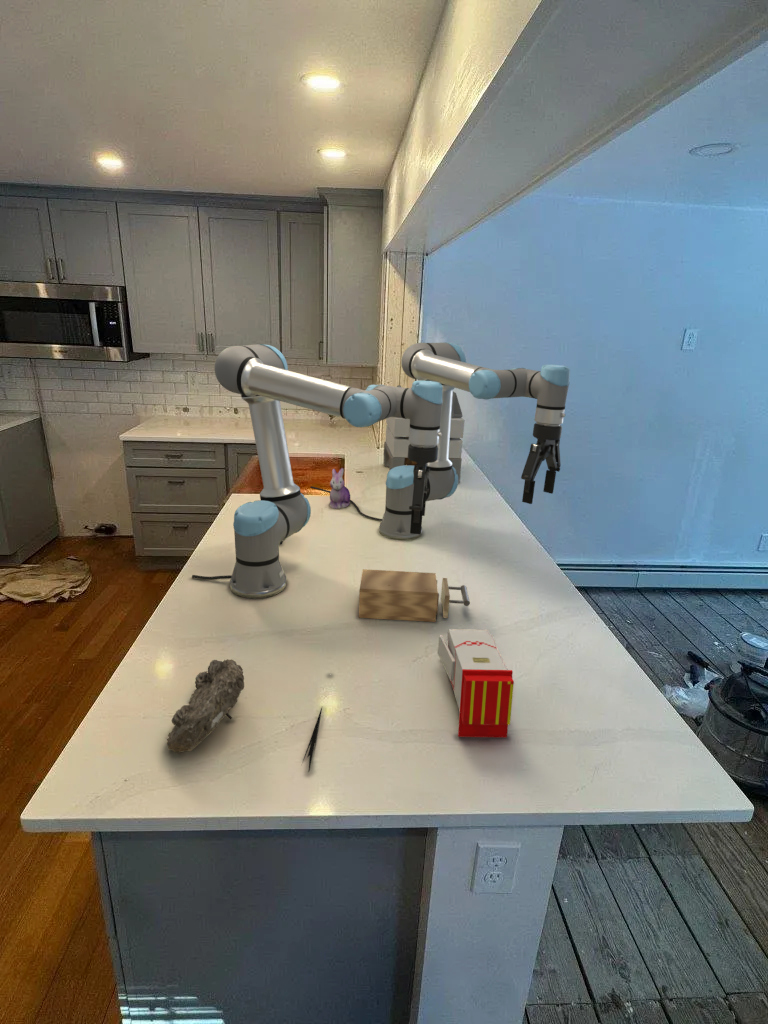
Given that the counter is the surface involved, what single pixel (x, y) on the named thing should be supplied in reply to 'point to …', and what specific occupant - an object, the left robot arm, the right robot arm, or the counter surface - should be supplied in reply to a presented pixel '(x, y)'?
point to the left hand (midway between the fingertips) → (417, 524)
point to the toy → (478, 682)
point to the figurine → (338, 491)
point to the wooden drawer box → (398, 595)
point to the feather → (313, 740)
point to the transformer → (399, 443)
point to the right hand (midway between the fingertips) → (537, 497)
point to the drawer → (446, 597)
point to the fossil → (206, 705)
